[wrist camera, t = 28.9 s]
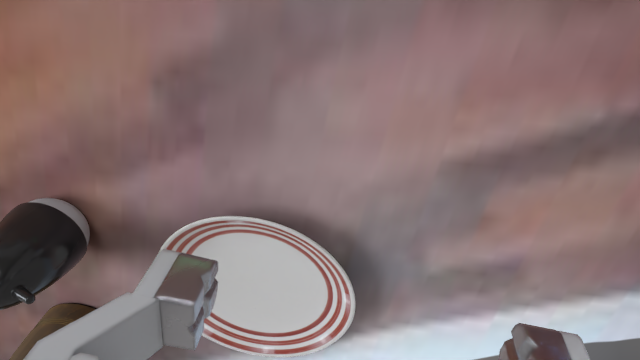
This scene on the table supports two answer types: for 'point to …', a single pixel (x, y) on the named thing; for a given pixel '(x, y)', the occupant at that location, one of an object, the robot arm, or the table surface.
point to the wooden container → (51, 325)
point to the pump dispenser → (39, 247)
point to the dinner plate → (269, 286)
